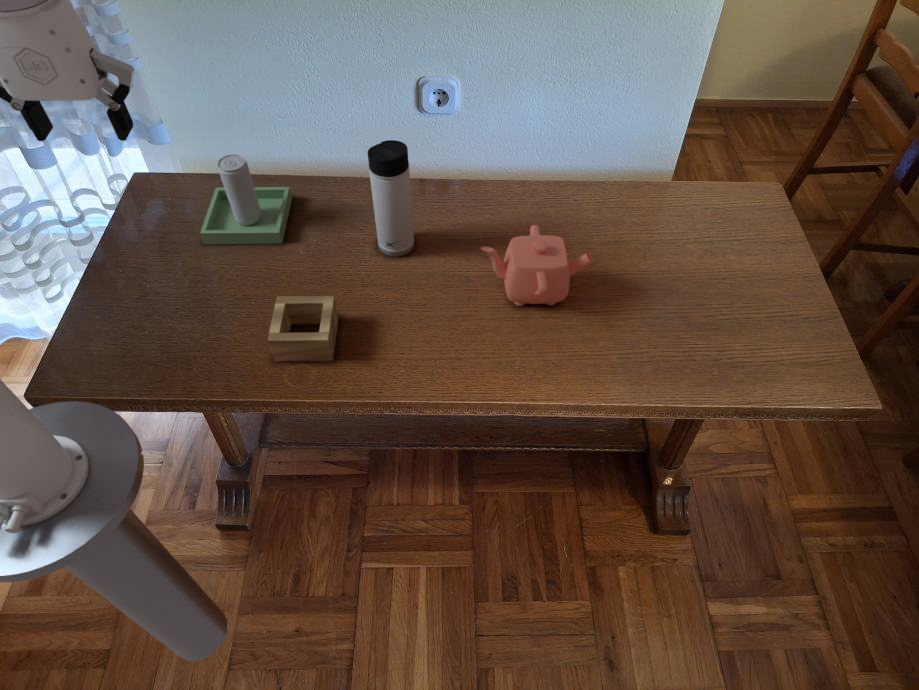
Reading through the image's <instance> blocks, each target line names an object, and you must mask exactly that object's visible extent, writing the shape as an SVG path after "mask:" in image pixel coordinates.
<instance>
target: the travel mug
mask: <svg viewBox="0 0 919 690" xmlns="http://www.w3.org/2000/svg"><path fill="white" fill-rule="evenodd" d="M408 149H409V148H408V145H407V144H406V143H404V142H402V141H400V140H395V139H389V140H383V141H381V142H380V143H377V144H375V145H373V146H371V147H370V148H368V149H367V161H368V171H369V179H370V189H371V197H372V203H373V212H374V213H373V214H374V220H375V228H376V229H375V230H376V238H377V245H378V246H377V247H378V249H379V251H380V252H382V253H383V254H384V255H386V256H389V257H403V256H405V255H407V254H409V253H410V252H411V251H412V250H413V249H414V247H415V237H414V236H415V235H414V221H413V219H414V218H413V204H412V189H411V175H410V174H411V173H410V163H409V150H408Z"/></svg>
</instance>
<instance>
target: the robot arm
mask: <svg viewBox="0 0 919 690" xmlns="http://www.w3.org/2000/svg"><path fill="white" fill-rule="evenodd" d="M70 1H71V0H0V99H1V100H3V101H5V102H7V103H9V105H10V108H12V109H13V110H14V111H17V112H19V113H20V114H21V116H22V118H23V120H24V121H25V123H26V125H27V126H28V128H29V130H30V131H31V132H32V133H33V136H34V137H35V139H36V140H37V142H44V141H45V140H47V138H48V136H49V135H50V134H51V132H52V130H53V129H54V125H53V123H52V121H51V119H50V117H49V116H48V114H47V112H46V110H45V108H44V107H43V105H42V103H41V102H79V101H82V102H83V101H91V100H93V99H96V100H98V101H99V102H100V103H102V104H103V105H104V106H106V107H107V110H106V115H107V117H108V120H109V122H110V124H111V127H112V129H113V131H114V132H115V135H116V137H117V139H118V140H119V141H122V142H124V141H127V139H128V137H129V135H130V133H131V131H132V130H133V128H134V121H133V118H132V116H131V114H130V112H129V109H128V107H127V105H126V103H125V100H126V99H127V97H128V96H129V94H130V92H131V91H132V89H133V86H134V84H133V83H134V76H135V67H134V66H132V65H131V64H128V63H126V62H125V61H121V60H119V59H117V58H114V57H112V56H109V55H107V54H104V53H102V52H99V50H98V47H97V45H96V43H95V41H94V39H93V38H92V36H91V34H90V32H89V30H88V29H87V27H86V25H85V23H84V21H83V20H82V18H81V16H80V15H79V13H78V12H77V10H76V8H75V7H74V6H73V4H72V3H71V2H70ZM108 73H109V74H111V75H113V76H115V77H116V78H117V79H118V85H117V84H116V83H115V82H113V81H111V80H110V79H109V78H108V77H109V76H108V75H109V74H108ZM29 409H30V408H28V407H27V406H26V405H25V404H24V402H22V400H21V399H20V398H19V397H18V396H17V395H16V394H15V393H14V392H13V391H12V390H11V389H10V388H9V387H8V385H6V383H5V382H4V381H3V380H2V379H1V378H0V530H1V526H2V524H5V525H7V526H6V528H5V531H6V532H9V533H17V532H18V531H19V528H20V526H26V525H31V524H35V523H38V522H41V521H43V520H46V519H48V518H50V517H52V516H53V515H55V514H57V513H58V512H60V511H61V510H62V509H64V508H65V507H66V506H67V505H68V504H69V503H71V502H72V501H73V500H74V498H75V497H76V496H77V495H78V493H79V492H80V491H81V489H82V487H83V485H84V484H85V481H86V478H87V476H88V470H89V462H88V458H87V455H86V453H85V451H84V450H83V449H82V447H81V446H80V445H79V444H78V443H77V442H75V441H74V440H72V439H70V438H67V437H64V436H56V435H52V434H51V433H50V432H49V431H48V430H47V429H46V428H45V427H44V426H43V424H42V423H41V422H40V421H39V420H38V419H37V418H36V417H35V416H34V415H33V414H32V413H31V411H30V410H29Z"/></svg>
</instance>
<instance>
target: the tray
mask: <svg viewBox="0 0 919 690" xmlns="http://www.w3.org/2000/svg"><path fill="white" fill-rule="evenodd" d="M254 188H255V192H256V195H257V198H258V202H259V205H260V209H261V212H262V216H261V218H260V220H259V221H258V222H257V223H255V224H253V225H241V224H239V223H238V222H237V221H236V220H235V217H234V214H233V211H232V208H231V205H230V203H229V200H228V197H227V194H226V191H225V188H224V186H223V187H221V186H220V187H219V186H218V187H215V189H214V191H213V194H212V197H211V200H210V203H209V206H208V209H207V212H206V215H205V217H204V221H203V224H202V226H201V229H200V237H201V239H202V241H203V245H274V244H275V245H277V244H278V245H280V244H281V245H282V244H283V241H284V237H285V233H286V228H287V224H288V219H289V215H290V210H291V206H292V201H293V195H292V190H291V187H290V186H254Z"/></svg>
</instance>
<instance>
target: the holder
mask: <svg viewBox="0 0 919 690" xmlns="http://www.w3.org/2000/svg"><path fill="white" fill-rule="evenodd" d="M274 303H275V304H274V308H273V313H272V318H271V323H270V326H269V327H270V328H269V331H268V336H267V343H268V347H269V349H270V352H271V355H272V357H273V360H274V362H333V361H334V356H335V350H336V349H335V348H336V341H337V333H338V326H339V313H338V307H337V302H336V298H335V295H294V296H293V295H285V296H283V295H281V296H278V295H277V296H276V299H275V302H274ZM292 325H319V330H318V332H315V331H314V332H291V329H292Z"/></svg>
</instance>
